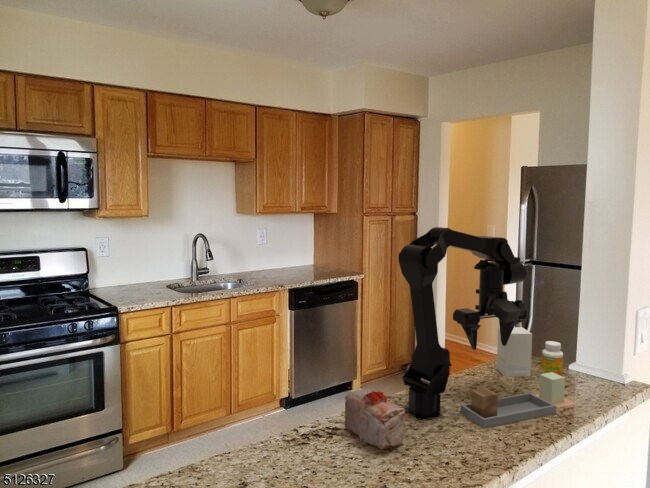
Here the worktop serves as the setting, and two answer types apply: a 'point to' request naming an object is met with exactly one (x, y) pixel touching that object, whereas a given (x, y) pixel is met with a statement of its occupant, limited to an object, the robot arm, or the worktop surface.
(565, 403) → the coaster
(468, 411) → the bin
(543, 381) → the sage block
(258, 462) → the worktop surface
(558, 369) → the supplement bottle
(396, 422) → the food item
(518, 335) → the supplement box
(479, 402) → the walnut block
